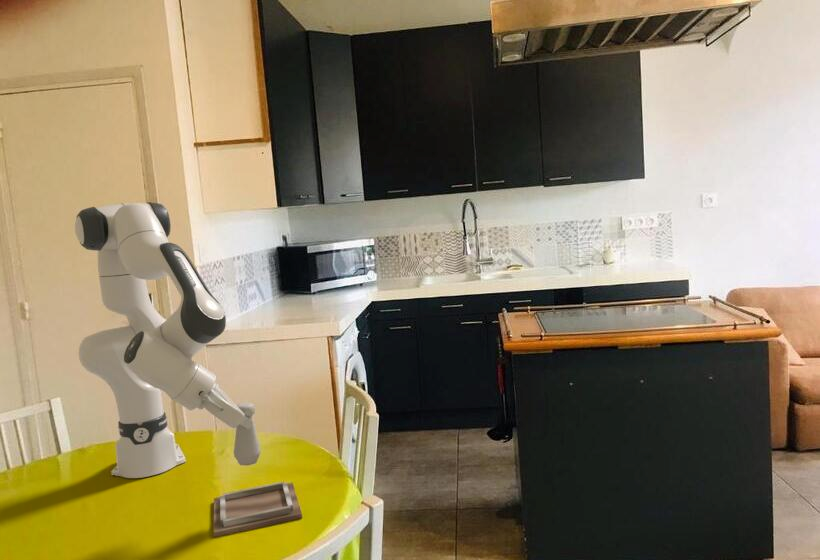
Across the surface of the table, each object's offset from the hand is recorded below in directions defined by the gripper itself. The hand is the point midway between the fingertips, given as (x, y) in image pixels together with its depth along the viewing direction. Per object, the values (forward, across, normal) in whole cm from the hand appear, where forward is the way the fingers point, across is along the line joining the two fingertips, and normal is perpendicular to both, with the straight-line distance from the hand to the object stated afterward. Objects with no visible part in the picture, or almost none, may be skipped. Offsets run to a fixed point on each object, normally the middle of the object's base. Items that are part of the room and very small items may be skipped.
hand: (248, 422), depth 147 cm
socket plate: (+14, 0, +14) cm, 20 cm away
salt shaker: (+5, 0, +7) cm, 9 cm away
